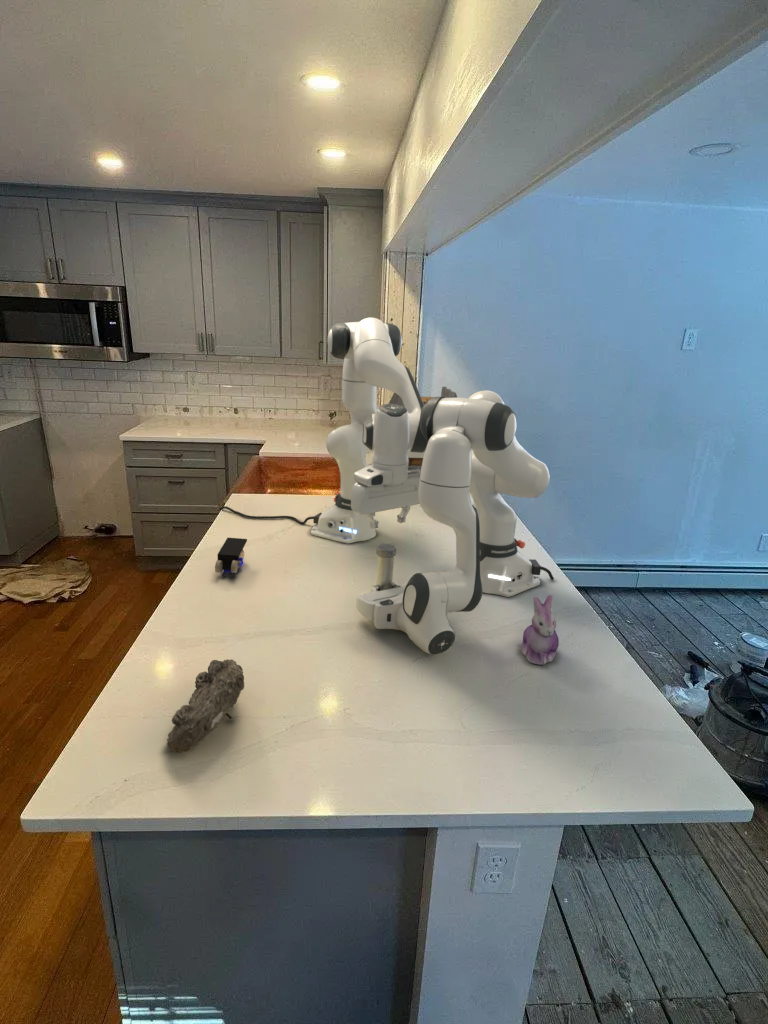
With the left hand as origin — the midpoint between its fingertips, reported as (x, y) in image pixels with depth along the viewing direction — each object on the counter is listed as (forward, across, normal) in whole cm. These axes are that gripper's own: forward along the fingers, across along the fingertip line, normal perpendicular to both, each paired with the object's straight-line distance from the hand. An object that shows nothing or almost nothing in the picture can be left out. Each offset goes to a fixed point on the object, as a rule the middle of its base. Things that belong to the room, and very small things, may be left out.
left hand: (387, 525), depth 144 cm
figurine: (+23, -19, +37) cm, 48 cm away
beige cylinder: (+23, 0, 0) cm, 23 cm away
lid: (+6, 0, 0) cm, 6 cm away
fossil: (+23, +53, +19) cm, 61 cm away
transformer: (+23, -88, -99) cm, 134 cm away
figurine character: (+23, +27, -40) cm, 53 cm away
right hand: (+18, 0, -1) cm, 18 cm away
